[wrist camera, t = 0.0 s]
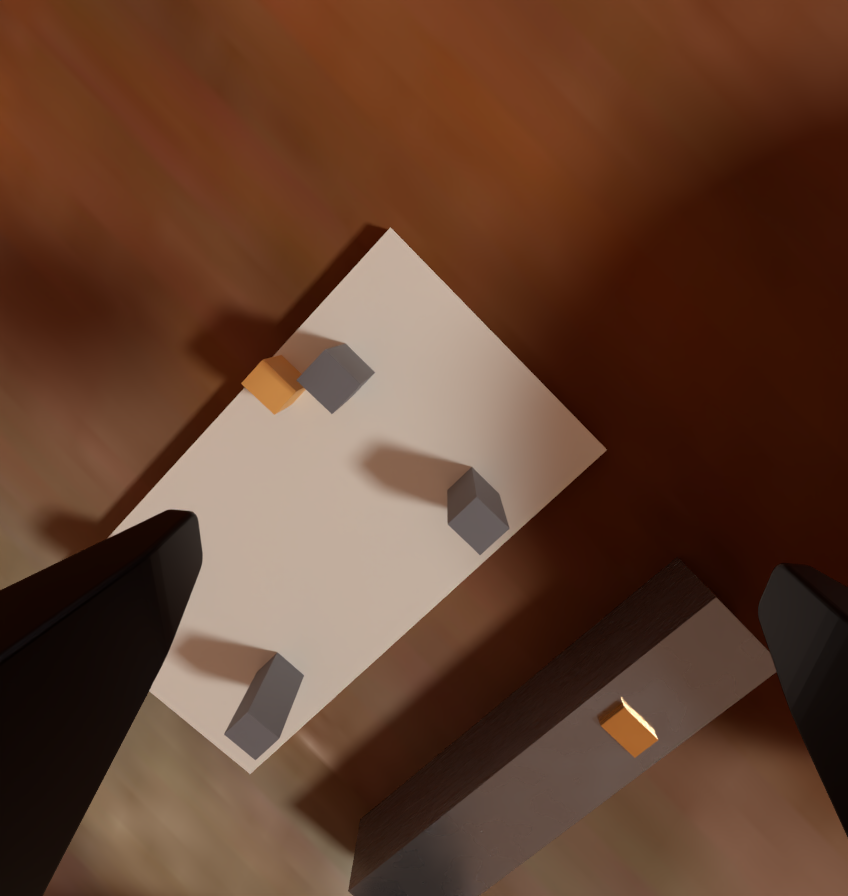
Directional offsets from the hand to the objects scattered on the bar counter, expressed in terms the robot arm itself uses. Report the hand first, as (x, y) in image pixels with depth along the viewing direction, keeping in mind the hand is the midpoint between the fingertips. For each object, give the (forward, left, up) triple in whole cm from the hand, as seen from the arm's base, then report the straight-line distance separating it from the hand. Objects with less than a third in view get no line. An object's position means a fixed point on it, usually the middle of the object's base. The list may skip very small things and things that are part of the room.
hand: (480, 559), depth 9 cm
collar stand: (-8, +1, -15) cm, 17 cm away
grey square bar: (-8, -13, -16) cm, 22 cm away
